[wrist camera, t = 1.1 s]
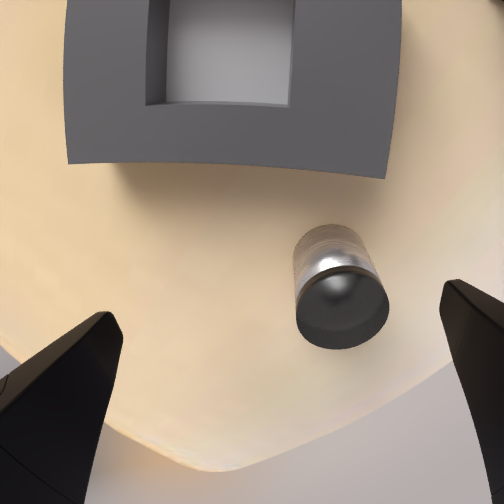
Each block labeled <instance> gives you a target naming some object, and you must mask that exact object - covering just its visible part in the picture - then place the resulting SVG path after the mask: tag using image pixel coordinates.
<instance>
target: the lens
mask: <svg viewBox="0 0 504 504" xmlns="http://www.w3.org/2000/svg"><path fill="white" fill-rule="evenodd" d="M293 269H294V285H295V303H296V321H297V326H298V329H299V331H300V333H301V334H302V336H303V337H304V338H305V339H306V340H308V341H309V342H310V343H312V344H314V345H316V346H318V347H322V348H326V349H347V348H351V347H355V346H358V345H360V344H362V343H364V342H366V341H368V340H369V339H371V338H372V337H373V336H375V335H376V334H377V333H378V332H379V331H380V329H381V328H382V327H383V325H384V324H385V322H386V320H387V318H388V314H389V300H388V297H387V295H386V292H385V290H384V288H383V285H382V283H381V281H380V278H379V276H378V274H377V272H376V269H375V267H374V265H373V263H372V261H371V258H370V256H369V254H368V252H367V250H366V248H365V246H364V244H363V241H362V240H361V238H360V237H359V236H358V235H357V234H356V233H355V232H354V231H353V230H351V229H349V228H347V227H345V226H341V225H333V224H330V225H323V226H319V227H316V228H314V229H312V230H311V231H309V232H307V233H306V234H305V235H304V236H303V237H302V238H301V239H300V240H299V242H298V243H297V245H296V247H295V250H294V254H293Z"/></svg>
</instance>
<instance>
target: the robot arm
mask: <svg viewBox="0 0 504 504" xmlns="http://www.w3.org/2000/svg"><path fill="white" fill-rule="evenodd" d="M502 1H504V0H502ZM439 312H440V317H441V320H442V323H443V327H444V330H445V333H446V337H447V341H448V344H449V348H450V352H451V355H452V359H453V362H454V365H455V368H456V371H457V373H458V376H459V379H460V382H461V385H462V388H463V391H464V393H465V397H466V400H467V403H468V405H469V409H470V412H471V415H472V419H473V422H474V426H475V429H476V432H477V436H478V439H479V444H480V447H481V451H482V455H483V459H484V464H485V468H486V472H487V477H488V481H489V486H490V492H491V495H492V497H491V498H492V504H504V303H503V302H501V301H499V300H497V299H496V298H494V297H492V296H490V295H488V294H487V293H485V292H483V291H481V290H479V289H477V288H475V287H474V286H472V285H470V284H468V283H466V282H464V281H462V280H460V279H455V280H448V281H446V282H445V284H444V287H443V292H442V297H441V302H440V307H439ZM122 344H123V334H122V331H121V329H120V327H119V325H118V323H117V321H116V319H115V317H114V315H113V314H112V313H111V312H109V311H102V312H97V313H95V314H94V315H92V316H91V317H89V318H88V319H86V320H85V321H83V322H82V323H81V324H79V325H78V326H76V327H75V328H73V329H72V330H70V331H69V332H67V333H66V334H64V335H63V336H61V337H60V338H59V339H57V340H56V341H54V342H53V343H51V344H50V345H48V346H47V347H46V348H44V349H43V350H41V351H40V352H38V353H37V354H36V355H34V356H33V357H31V358H30V359H28V360H27V361H26V362H24V363H23V364H21V365H20V366H19V367H17V368H16V369H14V370H13V371H12V372H10V374H7V375H6V376H4V377H3V378H2V379H0V504H84V501H85V496H86V492H87V487H88V482H89V477H90V474H91V469H92V465H93V461H94V456H95V452H96V449H97V445H98V441H99V437H100V433H101V429H102V425H103V422H104V418H105V415H106V411H107V408H108V404H109V401H110V397H111V394H112V390H113V387H114V382H115V378H116V373H117V368H118V363H119V358H120V353H121V349H122Z"/></svg>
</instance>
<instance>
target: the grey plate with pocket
mask: <svg viewBox="0 0 504 504" xmlns="http://www.w3.org/2000/svg"><path fill="white" fill-rule="evenodd" d="M401 17H402V0H67V10H66V21H65V35H64V60H63V93H64V119H65V134H66V146H67V157H68V164H86V163H119V162H178V163H212V164H234V165H251V166H266V167H279V168H291V169H302V170H312V171H322V172H331V173H340V174H348V175H356V176H364V177H372V178H379V179H385V175H386V169H387V163H388V157H389V150H390V144H391V137H392V130H393V122H394V114H395V105H396V96H397V86H398V74H399V61H400V44H401Z"/></svg>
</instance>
